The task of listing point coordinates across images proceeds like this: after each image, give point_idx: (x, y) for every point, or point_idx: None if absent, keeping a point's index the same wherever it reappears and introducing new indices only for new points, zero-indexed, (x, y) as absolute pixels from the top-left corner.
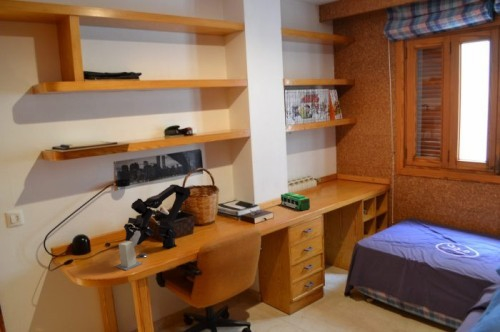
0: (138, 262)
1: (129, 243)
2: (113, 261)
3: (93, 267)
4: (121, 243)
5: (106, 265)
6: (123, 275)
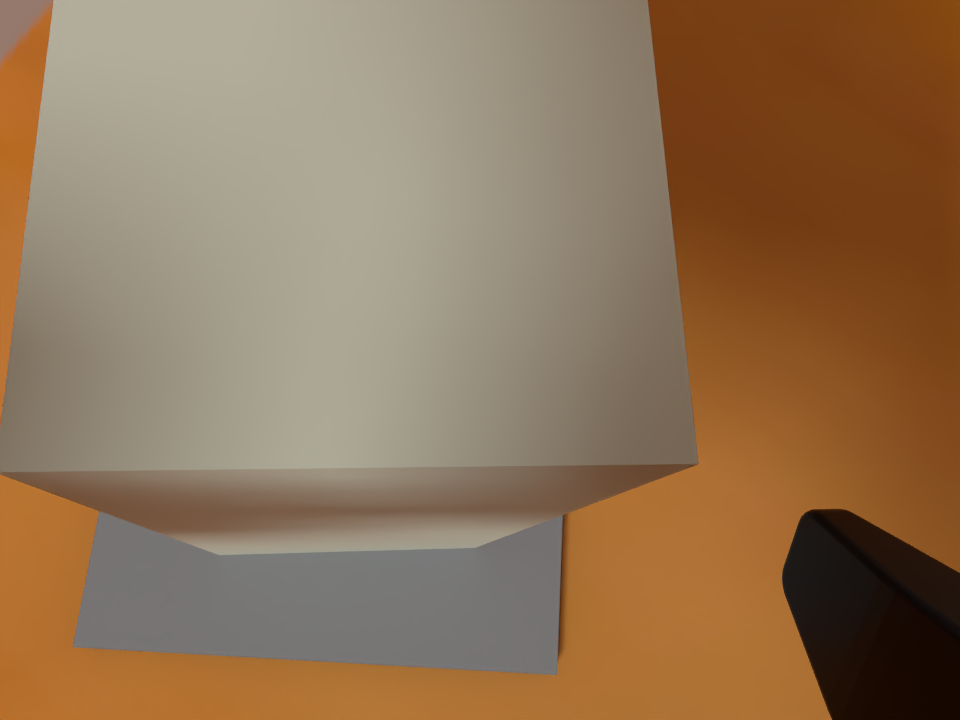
0: (210, 624)
1: (66, 147)
2: (855, 433)
3: (897, 91)
4: (549, 10)
5: (784, 237)
6: (30, 35)
